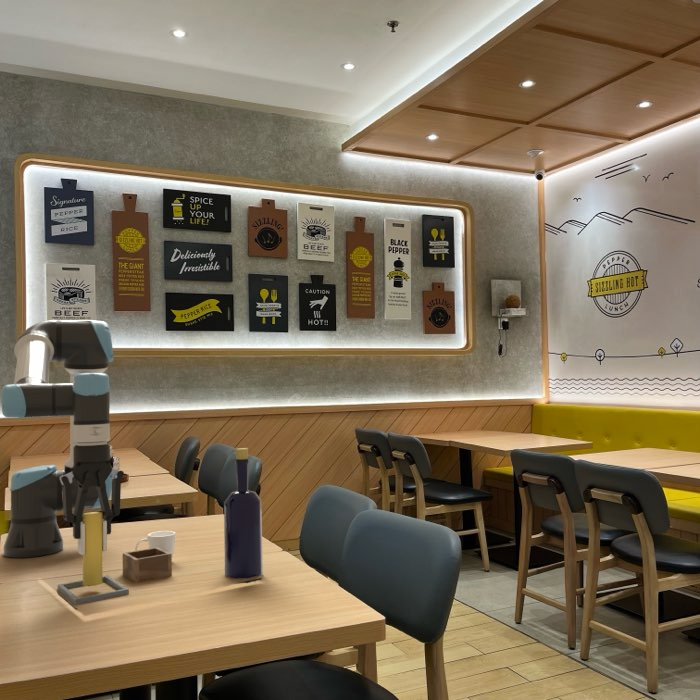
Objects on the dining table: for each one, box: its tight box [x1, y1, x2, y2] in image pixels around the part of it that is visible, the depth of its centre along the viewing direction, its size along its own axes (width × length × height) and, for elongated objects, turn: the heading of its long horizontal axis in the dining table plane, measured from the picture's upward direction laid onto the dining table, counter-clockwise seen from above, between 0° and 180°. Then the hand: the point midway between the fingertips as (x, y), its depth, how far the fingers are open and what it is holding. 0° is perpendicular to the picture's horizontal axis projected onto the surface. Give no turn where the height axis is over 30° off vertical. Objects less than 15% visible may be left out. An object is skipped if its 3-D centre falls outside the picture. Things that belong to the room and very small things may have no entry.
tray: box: [56, 575, 130, 610], centre depth 151 cm, size 14×11×2 cm
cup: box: [134, 530, 177, 557], centre depth 175 cm, size 7×10×8 cm
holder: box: [122, 547, 173, 583], centre depth 164 cm, size 9×9×6 cm
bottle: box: [223, 447, 264, 584], centre depth 164 cm, size 9×9×30 cm
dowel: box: [82, 511, 104, 587], centre depth 152 cm, size 4×4×15 cm
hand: (92, 551), depth 152 cm, fingers closed on dowel, 4 cm apart
